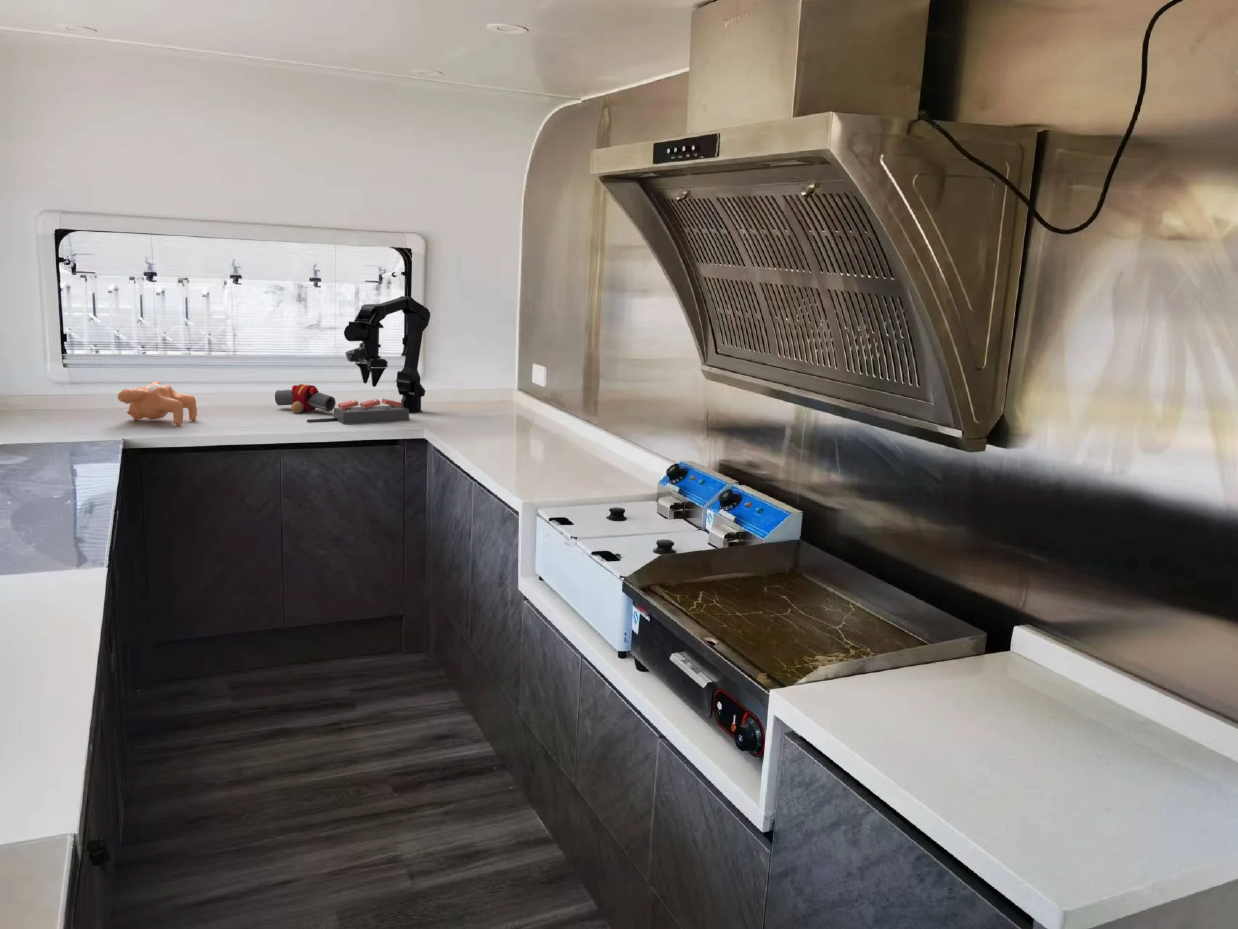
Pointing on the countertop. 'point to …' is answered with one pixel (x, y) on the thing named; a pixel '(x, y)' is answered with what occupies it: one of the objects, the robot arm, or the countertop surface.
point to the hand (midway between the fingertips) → (369, 384)
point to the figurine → (158, 402)
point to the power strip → (368, 415)
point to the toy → (304, 399)
